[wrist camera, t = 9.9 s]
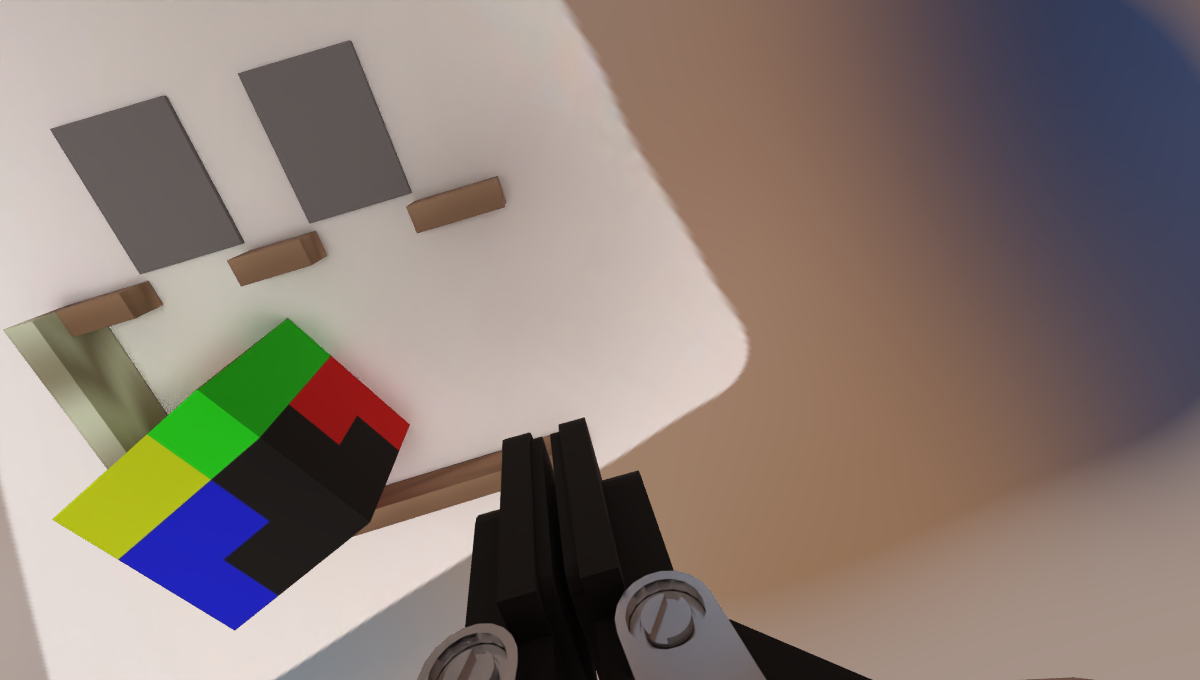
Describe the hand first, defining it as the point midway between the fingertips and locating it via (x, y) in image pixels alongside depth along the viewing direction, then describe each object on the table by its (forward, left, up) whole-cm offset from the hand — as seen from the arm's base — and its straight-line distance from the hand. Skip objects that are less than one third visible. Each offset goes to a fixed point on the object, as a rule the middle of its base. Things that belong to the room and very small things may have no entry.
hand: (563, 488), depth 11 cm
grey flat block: (-9, -19, -25) cm, 32 cm away
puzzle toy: (+6, -19, -25) cm, 32 cm away
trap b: (-9, -9, -25) cm, 28 cm away
